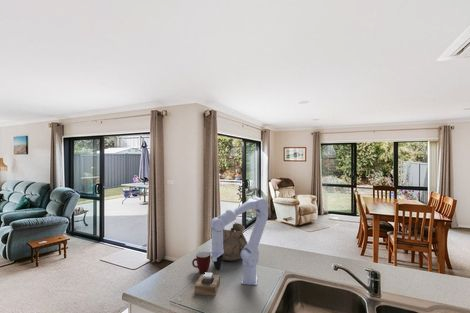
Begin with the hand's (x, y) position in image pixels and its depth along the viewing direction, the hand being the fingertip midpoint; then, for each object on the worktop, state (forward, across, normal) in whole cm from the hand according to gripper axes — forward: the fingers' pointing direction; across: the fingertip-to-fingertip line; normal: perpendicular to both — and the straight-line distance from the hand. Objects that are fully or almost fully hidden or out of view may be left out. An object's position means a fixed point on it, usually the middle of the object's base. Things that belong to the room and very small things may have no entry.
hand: (217, 269), depth 116 cm
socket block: (+9, +1, -5) cm, 11 cm away
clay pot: (+10, -37, +1) cm, 38 cm away
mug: (+10, -15, -13) cm, 22 cm away
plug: (+9, +1, -5) cm, 11 cm away
